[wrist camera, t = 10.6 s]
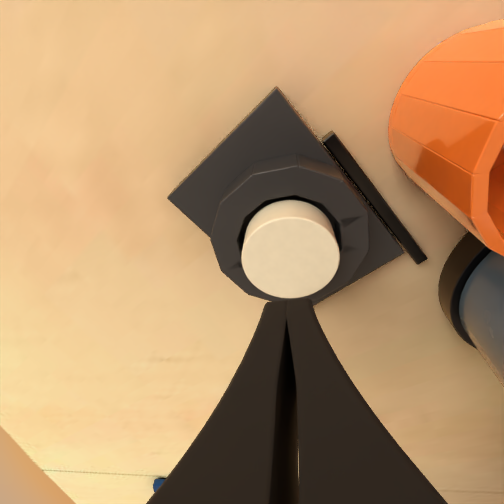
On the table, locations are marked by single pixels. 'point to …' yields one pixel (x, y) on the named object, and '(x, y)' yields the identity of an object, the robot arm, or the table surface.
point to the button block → (280, 194)
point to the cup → (457, 129)
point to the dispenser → (450, 272)
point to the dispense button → (290, 249)
